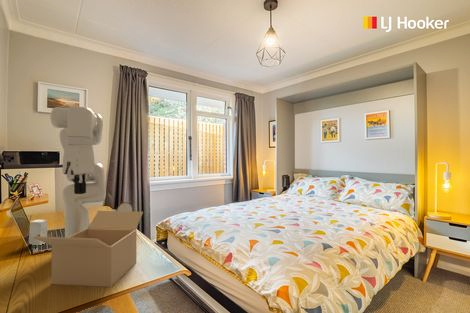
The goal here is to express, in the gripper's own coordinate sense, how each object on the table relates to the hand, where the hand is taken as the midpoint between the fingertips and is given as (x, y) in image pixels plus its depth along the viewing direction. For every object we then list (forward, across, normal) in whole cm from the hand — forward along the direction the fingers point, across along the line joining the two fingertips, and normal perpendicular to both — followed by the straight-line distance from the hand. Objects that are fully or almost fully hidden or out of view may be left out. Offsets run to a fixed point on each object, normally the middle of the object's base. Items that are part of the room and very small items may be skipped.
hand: (80, 193), depth 83 cm
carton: (+32, -6, +2) cm, 33 cm away
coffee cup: (+34, -52, -21) cm, 66 cm away
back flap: (+15, -19, +2) cm, 25 cm away
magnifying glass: (+34, -40, -6) cm, 53 cm away
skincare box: (+34, -29, -45) cm, 64 cm away
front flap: (+15, +6, +2) cm, 16 cm away
